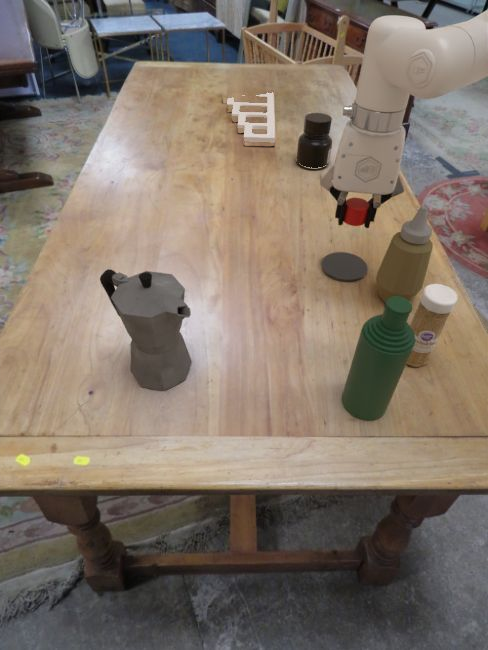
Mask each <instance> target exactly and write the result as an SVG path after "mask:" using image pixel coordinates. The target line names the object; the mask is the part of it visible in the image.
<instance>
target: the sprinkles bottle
mask: <svg viewBox="0 0 488 650" xmlns="http://www.w3.org/2000/svg"><path fill="white" fill-rule="evenodd" d="M458 300H459V296H458V294H457V292H456V291H455V290H454V289H453V288H451V287H449V286H447V285H445V284H440V283H430V284H427V285H426V286H425V287H424V288H423V291H422V293H421V295H420V297H419V303H418V305H417V308H416V310H415V312H414V313H413V316H412V319H411V321H410V324H409V325H410V327H411V328H412V329H413V331H414V334H415V345H414V347H413V349H412V352H411V354H410V356H409V359H408V361H407V363H406V366H410V367H412V368H413V367H414V368H421V367H424V366H425V365H426V364H427V363H428V360H429V357H430V355H431V353H432V351H433V350H434V348H435V346H436V344H437V342H438V340H439V337H440V336H441V333H442V331H443V329H444V327H445V326H446V322H447V320H448V318H449V315H450V314H451V312H452V311H453V310H454V309H455V307H456V304H457V302H458Z"/></svg>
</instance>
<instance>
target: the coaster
mask: <svg viewBox="0 0 488 650" xmlns="http://www.w3.org/2000/svg"><path fill="white" fill-rule="evenodd" d="M320 268H321V271H322V273H324V275H326V276H327V277H329V278H330V279H332V280H335V281H337V282H342V283H354V282H358V281H361V280H362V279H364V278H365V277H366V276H367V273H368V270H369V268H368V265H367V263H366V261H365V260H364V259H363V258H362V257H360V256H358V255H356V254H354V253H350V252H347V251H336V252H331V253H328V254H327V255H325V256H324V257H323V258H322V260H321V262H320Z"/></svg>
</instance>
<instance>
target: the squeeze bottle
mask: <svg viewBox="0 0 488 650" xmlns="http://www.w3.org/2000/svg"><path fill="white" fill-rule="evenodd" d="M428 214H429V206H427V205H420V207H419V208H418V210H417V212H416V213H415V215H414V216H413V218H412V220H408V221H405V222H403V224H402V226H401V228H400V231H398V232H396V233H395V234H393V236H392V238H391V240H390V243H389V245H388V247H387V249H386V251H385V253H384V256H383V259H382V261H381V263H380V266H379V267H378V270H377V272H376V276H375V279H376V280H375V281H376V289H377V294H378V297H379V298H380V299H381V300H382V301H383V302H385V303H386V300H387V299H388V298H390V297H393V296H400V297H403V298H406V299H407V300H409V301H410V302H411V300H412V299H413V298H414V297H415V296H416V295H417V294H418V293H419V292H420V291H421V290H422V289H423V286H424V283H425V278H426V275H427V270H428V268H429V264H430V261H431V260H430V259H431V256H432V251H433V247H434V243H433V241H432V240H431V237H432V234H433V229H432V227H431V226H430V225H429V224H428V216H429V215H428Z"/></svg>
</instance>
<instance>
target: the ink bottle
mask: <svg viewBox="0 0 488 650" xmlns="http://www.w3.org/2000/svg"><path fill="white" fill-rule="evenodd" d="M332 120H333V118H332V117H331V115H329V114H327V113H322V112H311V113H307V114H306V115H305V116H304V121H303V133H302V134H300V136H299V137H298V139H297V140H298V141H297V149H296V159H297V162H298V163H300V164H301V165H303V166H306V167H310V168H311V167H312V168H318V167H323V166H325V165H327V164H328V163H329V164H330V161H331V155H332V149H333V138H332V137H331V135H330V133H331V128H332V127H331V126H332ZM296 159H295V160H296ZM297 162H296V163H297Z"/></svg>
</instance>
